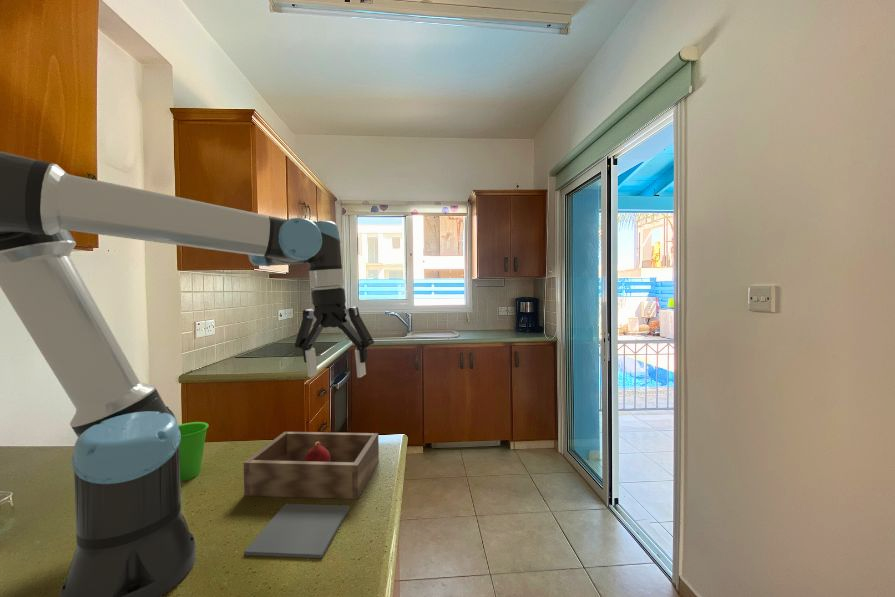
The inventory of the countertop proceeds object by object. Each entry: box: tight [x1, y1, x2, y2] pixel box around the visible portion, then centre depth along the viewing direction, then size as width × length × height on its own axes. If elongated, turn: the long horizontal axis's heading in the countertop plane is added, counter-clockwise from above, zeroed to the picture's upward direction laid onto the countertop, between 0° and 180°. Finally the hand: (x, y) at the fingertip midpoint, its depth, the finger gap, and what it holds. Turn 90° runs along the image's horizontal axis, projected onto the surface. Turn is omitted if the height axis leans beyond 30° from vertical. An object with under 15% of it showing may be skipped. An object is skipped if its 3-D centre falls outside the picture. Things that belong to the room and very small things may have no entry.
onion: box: [304, 442, 331, 462], centre depth 82 cm, size 6×6×8 cm
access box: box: [243, 431, 380, 500], centre depth 82 cm, size 24×16×7 cm
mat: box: [243, 503, 350, 559], centre depth 64 cm, size 13×13×1 cm
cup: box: [178, 421, 210, 482], centre depth 83 cm, size 9×9×11 cm
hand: (336, 375), depth 86 cm, fingers open, 13 cm apart
